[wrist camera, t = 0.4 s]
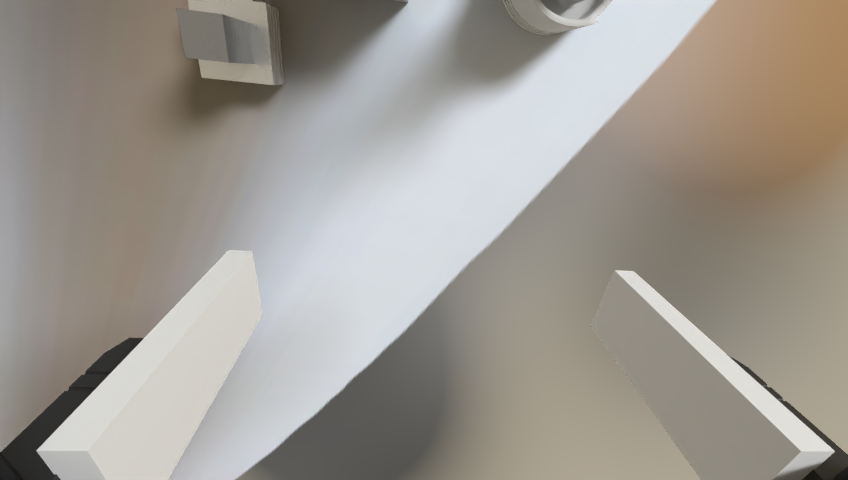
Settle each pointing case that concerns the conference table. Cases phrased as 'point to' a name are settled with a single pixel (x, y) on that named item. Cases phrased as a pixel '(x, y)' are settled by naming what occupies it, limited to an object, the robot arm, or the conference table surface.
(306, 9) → the conference table surface
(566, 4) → the engine component
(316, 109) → the conference table surface
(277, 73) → the blue-grey beige mallet
